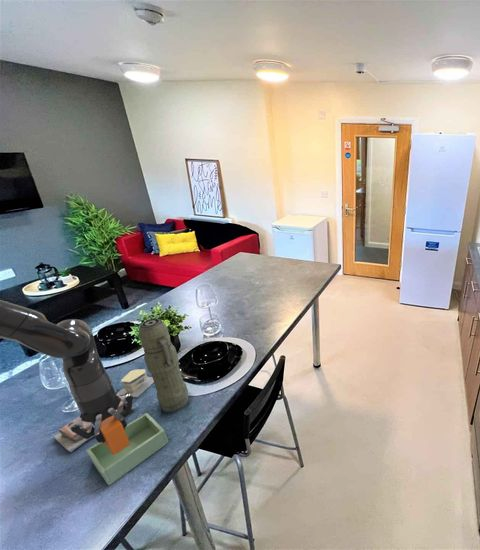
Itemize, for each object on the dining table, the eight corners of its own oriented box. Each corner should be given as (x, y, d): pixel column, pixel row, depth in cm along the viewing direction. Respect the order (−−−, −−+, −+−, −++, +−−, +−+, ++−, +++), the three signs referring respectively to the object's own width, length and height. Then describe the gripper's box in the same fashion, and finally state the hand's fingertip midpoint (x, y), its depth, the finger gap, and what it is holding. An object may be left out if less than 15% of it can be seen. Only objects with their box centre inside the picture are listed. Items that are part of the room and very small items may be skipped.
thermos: (176, 388, 112) (152, 311, 98) (197, 399, 108) (176, 320, 93) (152, 405, 104) (123, 324, 90) (174, 417, 100) (147, 334, 86)
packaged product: (115, 389, 104) (131, 399, 101) (119, 399, 106) (135, 409, 103) (48, 429, 89) (64, 442, 86) (54, 439, 91) (70, 453, 88)
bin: (108, 485, 80) (102, 473, 78) (92, 462, 85) (85, 450, 83) (168, 442, 92) (164, 430, 90) (151, 424, 98) (146, 412, 95)
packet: (113, 455, 81) (104, 434, 78) (103, 442, 84) (94, 421, 81) (130, 444, 84) (121, 423, 81) (120, 432, 88) (111, 412, 84)
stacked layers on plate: (137, 397, 107) (133, 386, 105) (115, 394, 108) (111, 383, 106) (158, 378, 117) (154, 367, 114) (138, 375, 117) (134, 364, 115)
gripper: (119, 368, 83) (135, 411, 90) (51, 400, 72) (75, 447, 79) (131, 379, 80) (147, 423, 87) (61, 415, 69) (85, 462, 75)
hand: (112, 434), depth 83 cm, fingers closed on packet, 4 cm apart
